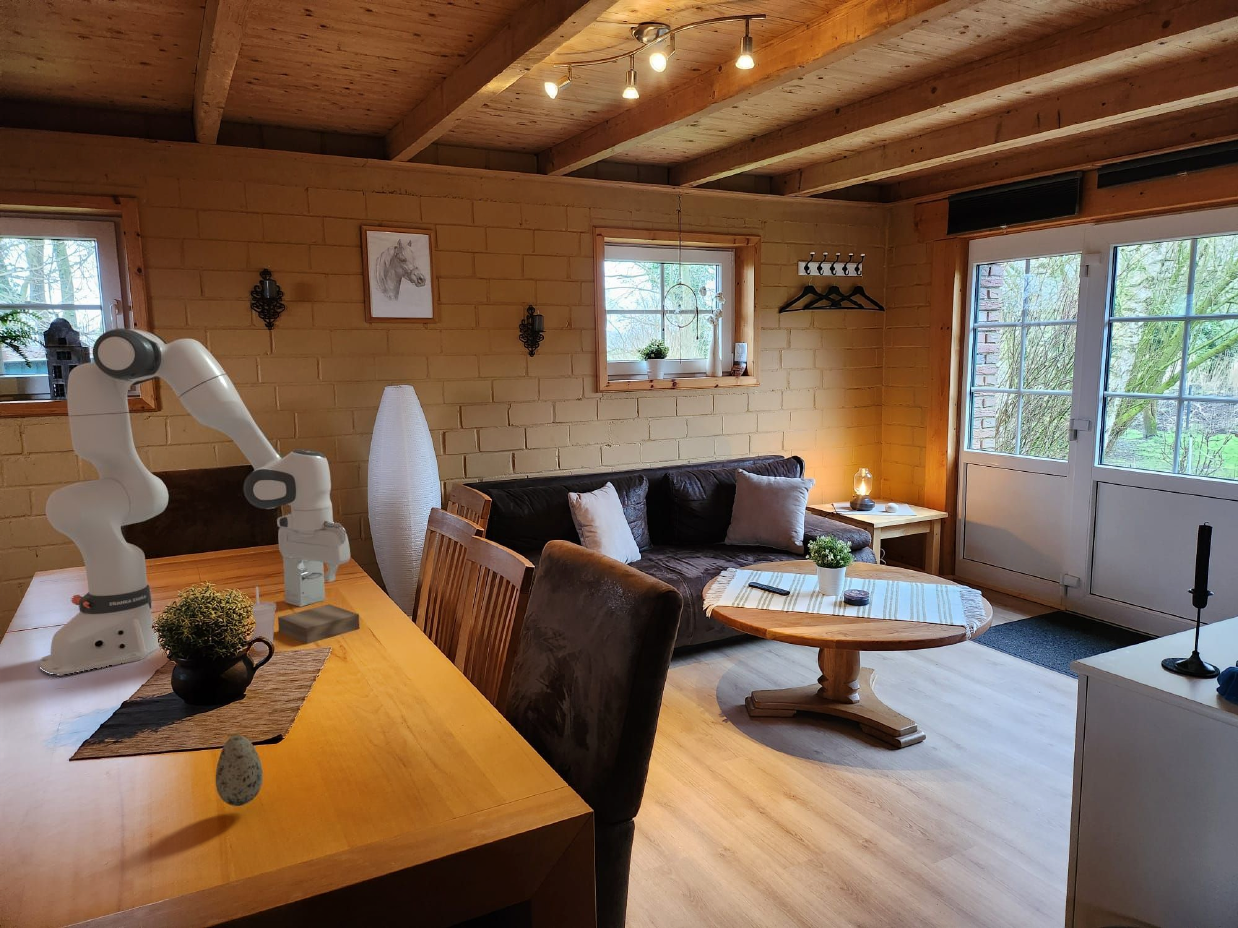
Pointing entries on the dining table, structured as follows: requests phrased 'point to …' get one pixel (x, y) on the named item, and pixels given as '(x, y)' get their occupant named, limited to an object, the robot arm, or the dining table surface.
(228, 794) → the decorative egg
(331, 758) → the dining table surface
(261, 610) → the smoothie
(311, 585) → the supplement box
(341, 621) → the walnut block
